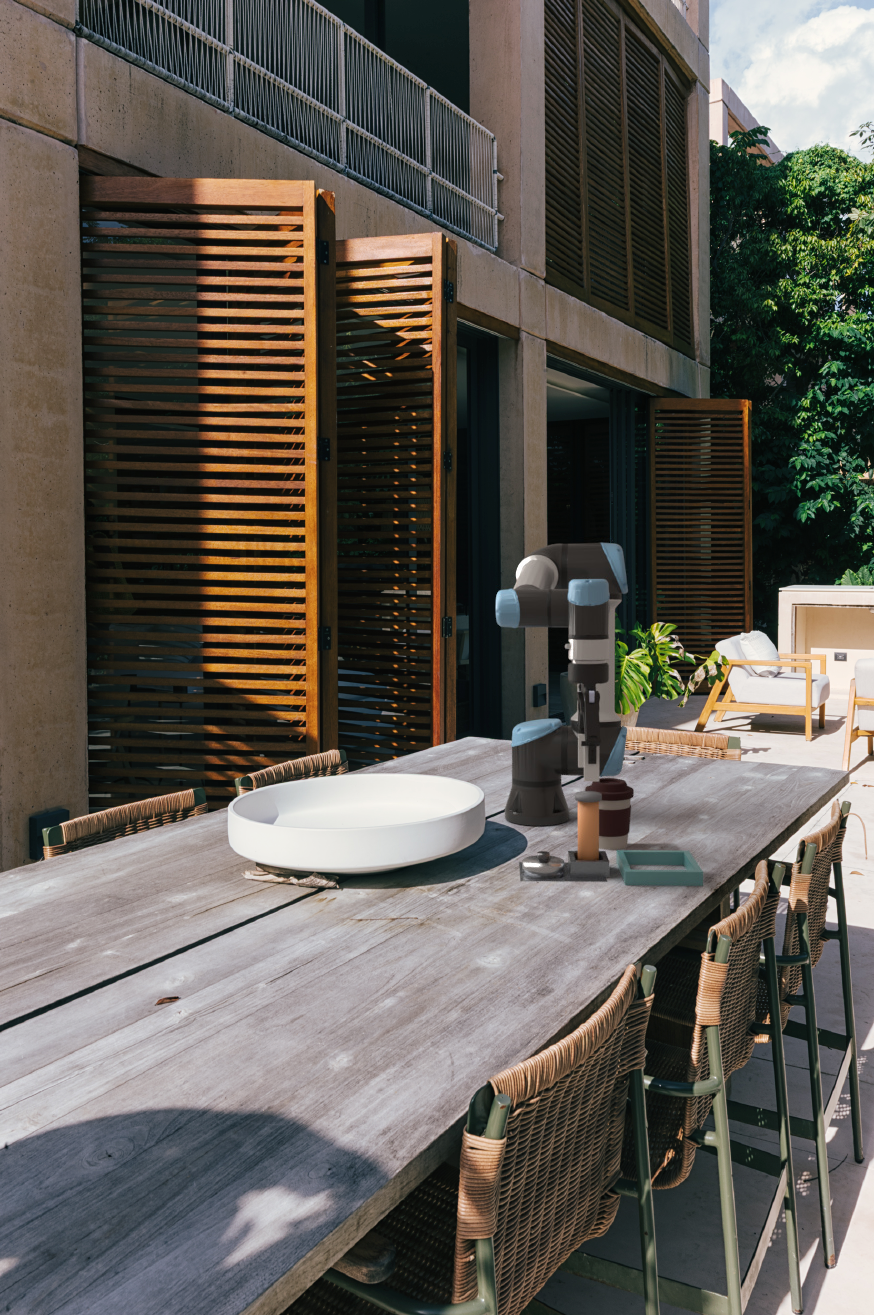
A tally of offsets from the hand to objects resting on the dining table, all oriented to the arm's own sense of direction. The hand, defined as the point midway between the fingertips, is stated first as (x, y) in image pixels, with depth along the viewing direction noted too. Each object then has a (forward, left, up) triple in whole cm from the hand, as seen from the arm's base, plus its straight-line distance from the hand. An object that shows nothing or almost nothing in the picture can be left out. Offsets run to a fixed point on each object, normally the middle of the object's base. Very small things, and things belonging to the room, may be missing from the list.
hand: (588, 774), depth 192 cm
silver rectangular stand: (0, -5, -20) cm, 21 cm away
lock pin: (0, 0, -19) cm, 19 cm away
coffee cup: (-19, +6, -21) cm, 29 cm away
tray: (+1, +13, -20) cm, 24 cm away
